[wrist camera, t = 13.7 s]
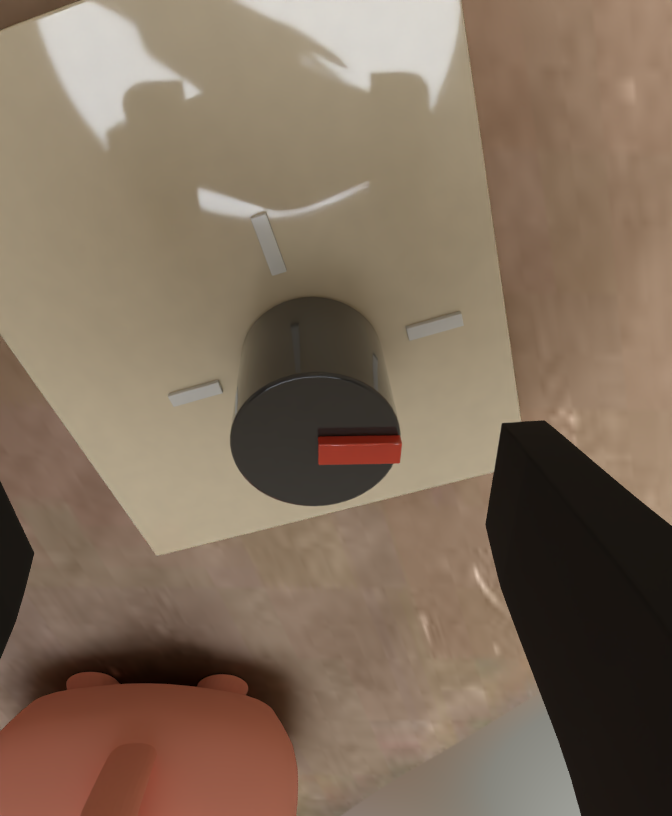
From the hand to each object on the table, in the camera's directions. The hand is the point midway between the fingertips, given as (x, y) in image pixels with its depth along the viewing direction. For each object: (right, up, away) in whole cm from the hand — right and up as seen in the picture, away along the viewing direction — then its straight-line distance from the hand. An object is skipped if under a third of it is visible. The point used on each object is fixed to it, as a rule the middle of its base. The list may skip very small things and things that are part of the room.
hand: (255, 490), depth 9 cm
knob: (+1, +2, +7) cm, 7 cm away
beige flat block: (-1, +5, +8) cm, 9 cm away
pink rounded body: (-8, -15, +22) cm, 27 cm away
